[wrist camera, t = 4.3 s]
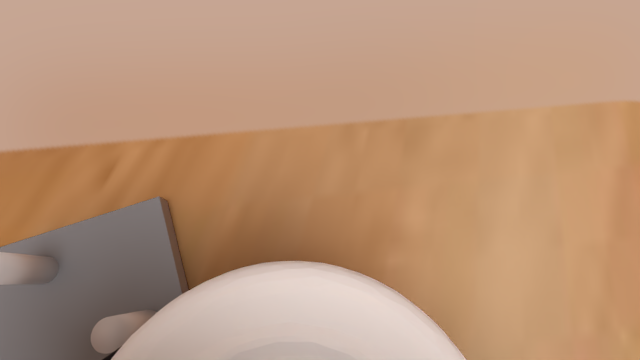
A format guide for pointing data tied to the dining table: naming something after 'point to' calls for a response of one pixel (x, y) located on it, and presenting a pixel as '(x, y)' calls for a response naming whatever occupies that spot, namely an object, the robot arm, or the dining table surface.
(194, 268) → the dining table surface
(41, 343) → the pin tray
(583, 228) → the dining table surface
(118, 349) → the robot arm
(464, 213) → the dining table surface
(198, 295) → the sprinkles bottle
